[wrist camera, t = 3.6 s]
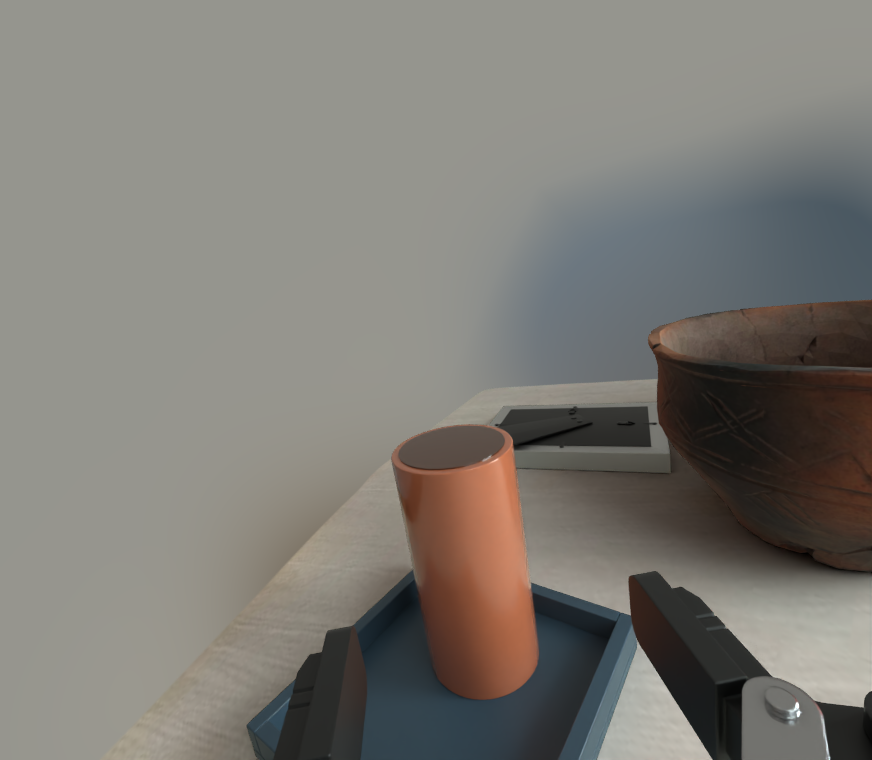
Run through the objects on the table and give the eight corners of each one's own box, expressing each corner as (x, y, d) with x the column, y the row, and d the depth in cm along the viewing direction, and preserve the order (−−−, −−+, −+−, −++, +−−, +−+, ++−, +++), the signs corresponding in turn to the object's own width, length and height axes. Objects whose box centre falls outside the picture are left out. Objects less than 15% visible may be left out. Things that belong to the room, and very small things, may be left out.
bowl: (1328, 609, 22) (1441, 296, 18) (845, 711, 20) (867, 400, 17) (836, 434, 46) (844, 287, 42) (604, 477, 45) (592, 329, 41)
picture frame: (471, 466, 52) (670, 473, 44) (468, 444, 52) (669, 446, 43) (505, 419, 66) (661, 417, 57) (503, 401, 65) (660, 396, 57)
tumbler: (408, 668, 26) (365, 461, 23) (468, 597, 31) (439, 419, 28) (505, 723, 22) (468, 482, 19) (557, 631, 27) (533, 428, 24)
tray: (255, 756, 23) (245, 724, 22) (437, 573, 35) (433, 549, 34) (506, 1013, 14) (497, 969, 13) (637, 647, 25) (635, 616, 25)
